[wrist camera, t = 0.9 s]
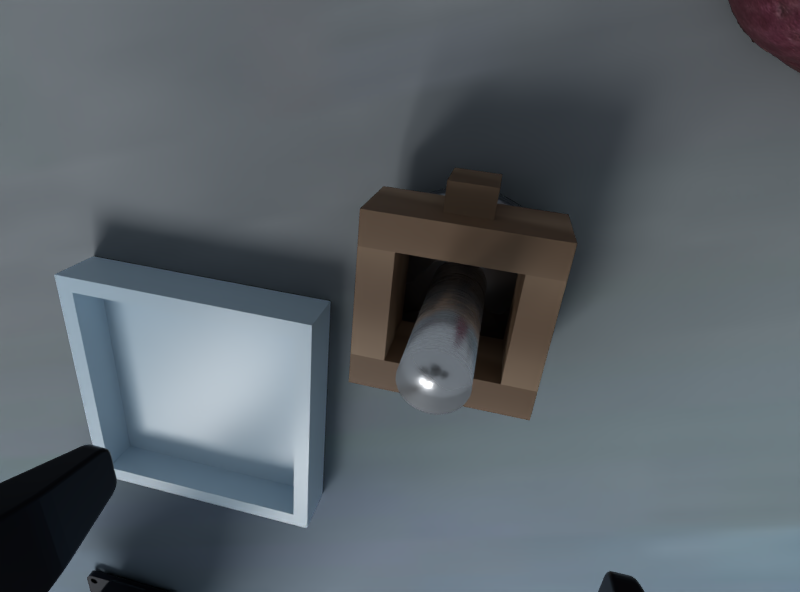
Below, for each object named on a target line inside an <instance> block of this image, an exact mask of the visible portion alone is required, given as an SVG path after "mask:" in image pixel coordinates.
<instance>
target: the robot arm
mask: <svg viewBox="0 0 800 592" xmlns="http://www.w3.org/2000/svg"><path fill="white" fill-rule="evenodd" d="M116 483H117V478H116V474H115V470H114V465H113V461H112V457H111V453H110V451H109V450H108V449H106V448H103V447H99V446H95V445H84V446H81V447H79V448H77V449H74V450H72V451H70V452H68V453H66V454H63V455H61V456H59V457H57V458H55V459H52V460H50V461H48V462H46V463H43V464H41V465H39V466H37V467H35V468H32V469H30V470H28V471H26V472H24V473H21V474H19V475H17V476H15V477H13V478H10V479H8V480H6V481H4V482H2V483H0V592H48V591H49V590H50V589H51V587H52V586H53V585H54V583H55V582H56V581H57V579H58V578H59V576H60V575H61V574H62V572H63V571H64V569H65V568H66V566H67V565H68V563H69V562H70V560H71V559H72V558H73V556H74V554H75V553H76V551H77V550H78V548H79V546H80V545H81V543H82V542H83V540H84V539H85V537H86V535H87V534H88V532H89V531H90V529H91V527H92V526H93V524H94V523H95V521H96V520H97V518H98V516H99V515H100V513H101V512H102V510H103V509H104V507H105V505H106V504H107V502H108V501H109V499H110V497H111V496H112V494H113V492H114V490H115V487H116ZM87 580H88V584H89V587H90V591H91V592H168V591H165V590H161V589H158V588H154V587H151V586H147V585H144V584H141V583H137V582H134V581H130V580H127V579H123V578H120V577H116V576H113V575H110V574H106V573H103V572H99V571H92V572H91V574H90V575H89V576H88V577H87ZM598 592H644V590H643V589H642V587H641V586H640V584H639V583H638V581H637V580H636V579H635V578H633V577H632V576H629V575H625V574H621V573H617V572H613V571H609V572H607V573H606V575H605V576H604V579H603V581H602V584H601V586H600V588H599V591H598Z"/></svg>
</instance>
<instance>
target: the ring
mask: <svg viewBox="0 0 800 592" xmlns="http://www.w3.org/2000/svg"><path fill="white" fill-rule="evenodd" d="M501 179H502V174H496V173H489V172H482V171H475V170H468V169H461V168H454V170H453V171H452V173H451V175H450V177H449V178H448V180H447V186H446V193H445V196H444V195H438V194H431V193H425V192H418V191H411V190H405V189H398V188H392V187H385V186H383V187H382V188H381V189H380V190H379V191H378V192H377V193H376V194H375V195H374V196H373V197H372V198H371V199H370V200H369V201H368V202H367V203H366V204H364V205H363V206H362V207H361V208H360V217H359V232H358V247H357V263H356V278H355V294H354V309H353V324H352V340H351V355H350V371H349V382H352V383H356V384H361V385H366V386H370V387H375V388H380V389H384V390H389V391H394V392H399V390H398V388H397V385H396V372H397V369H398V366H399V364H400V361H401V358H402V356H403V353H404V351H405V348H406V346H407V343H408V341H409V338H410V335H411V333H412V330H413V328H414V325H415V323H413V322H408V321H403V320H402V316H403V307H404V299H405V290H406V281H407V273H408V264H409V255H413V256H419V257H425V258H431V259H437V260H442V261H448V262H454V263H460V264H466V265H472V266H478V267H483V268H489V269H495V270H501V271H507V272H513V273H518V276H517V280H516V285H515V289H514V294H513V298H512V303H511V307H510V312H509V316H508V321H507V325H506V330H505V335H504V339H503V340H502V339H497V338H492V337H486V336H481V335H480V336H479V343H478V350H477V357H476V364H475V371H474V378H473V385H472V391H471V395H470V397H469V399H468V400H467V402H466V403H465V404H464V405H463V406H464V407H469V408H474V409H479V410H483V411H488V412H493V413H497V414H502V415H507V416H512V417H516V418H521V419H526V420H530V417H531V413H532V410H533V406H534V402H535V399H536V395H537V391H538V387H539V384H540V380H541V376H542V373H543V369H544V365H545V361H546V358H547V354H548V350H549V347H550V343H551V339H552V335H553V332H554V328H555V324H556V321H557V317H558V313H559V310H560V306H561V302H562V298H563V295H564V291H565V287H566V284H567V280H568V276H569V272H570V269H571V265H572V261H573V258H574V254H575V250H576V246H577V241H576V238H575V235H574V231H573V228H572V225H571V221H570V218H569V215H568V214H562V213H556V212H549V211H543V210H536V209H530V208H523V207H516V206H510V205H503V204H497V202H498V197H499V192H500V186H501ZM399 393H400V392H399Z"/></svg>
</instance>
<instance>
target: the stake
mask: <svg viewBox="0 0 800 592" xmlns="http://www.w3.org/2000/svg"><path fill="white" fill-rule="evenodd" d="M430 193H431V194H438V195H444V196H445V193H446V188H445V189H440V190H436V191H433V192H430ZM497 204H503V205H510V206H516V207H521V206H519V205H518V204H516V203H515V202H514V201H512V200H510V199H508V198H507V197H505V196H503V195H501V194H499V197H498V202H497ZM517 276H518V273H513V272H507V271H501V270H495V269H489V268H483V267H478V266H472V265H466V264H460V263H454V262H448V261H442V260H437V259H431V258H425V257H419V256H413V255H409V264H408V273H407V281H406V290H405V299H404V307H403V316H402V320H403V321H408V322H413V323H415V325H414V328H413V330H412V333H411V335H410V338H409V341H408V343H407V346H406V348H405V351H404V353H403V356H402V358H401V361H400V364H399V366H398V369H397V372H396V385H397V388H398V390H399V392H400V394H401V396H402V397H403V398H404V400H405V401H406V402H407V403H409V404H410V405H411V406H413V407H414V408H416V409H418V410H420V411H423V412H426V413H430V414H446V413H450V412H453V411H456V410H457V409H459V408H461V407H462V406H463V405H464V404H465V403H466V402H467V400H468V399H469V397H470V395H471V391H472V385H473V378H474V371H475V364H476V357H477V350H478V343H479V336H480V335H481V336H486V337H492V338H497V339H502V340H503V339H504V335H505V330H506V325H507V321H508V316H509V312H510V307H511V303H512V298H513V294H514V289H515V285H516V280H517Z"/></svg>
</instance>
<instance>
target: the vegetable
mask: <svg viewBox="0 0 800 592" xmlns="http://www.w3.org/2000/svg"><path fill="white" fill-rule="evenodd" d="M728 1H729V4H730V7H731V9H732V12H733V14H734V16H735V17H736V19H737V21H738V24H740V27H741V28H742V29H743V31H744V32H745V33H746V34H747V35H749V37H750V38H751V40H752V42H755V43H756V44H757V45H758V46H760V47H761V48H762V49H764V50H765V51H766V52H769V53H771V54H772V55H773V56H775V57H777V58H778V59H779V60H781V61H782V62H783V63H785V64H786V65H788V66H789V67H791V68H793V69H794V70H796V71H798V72H799V73H800V0H728Z"/></svg>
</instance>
